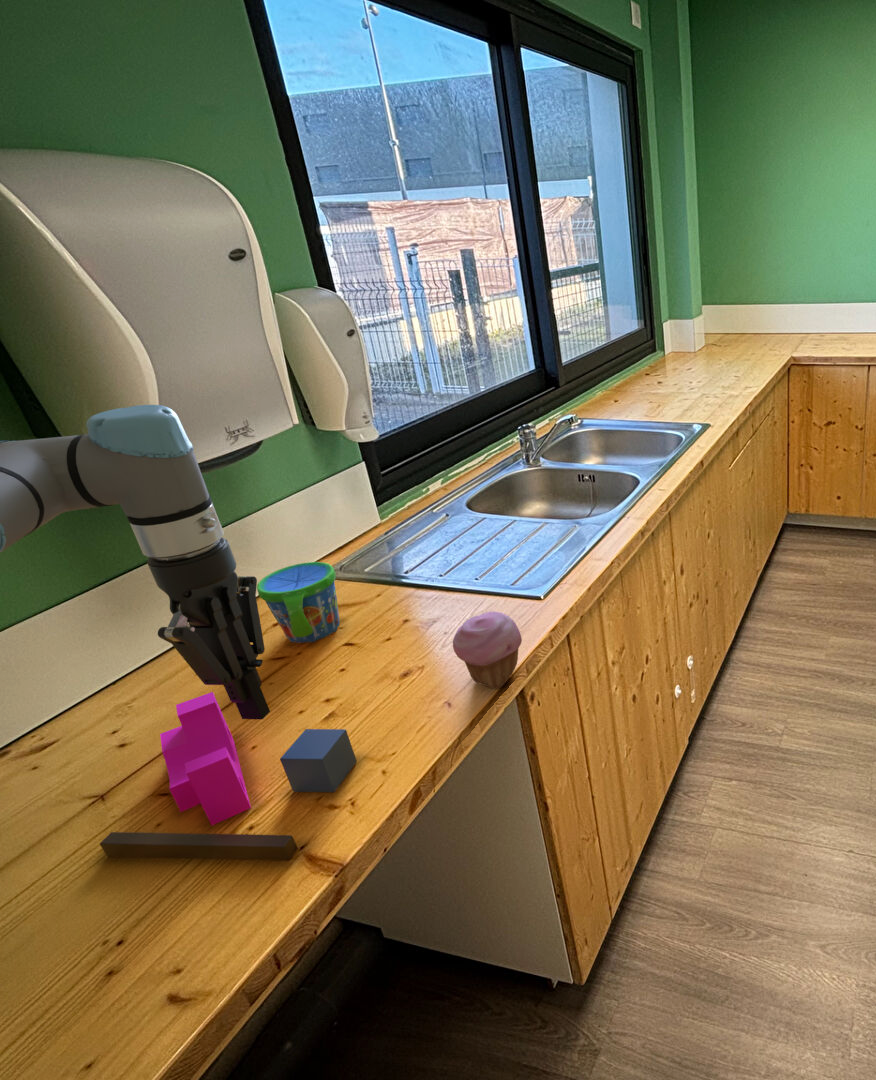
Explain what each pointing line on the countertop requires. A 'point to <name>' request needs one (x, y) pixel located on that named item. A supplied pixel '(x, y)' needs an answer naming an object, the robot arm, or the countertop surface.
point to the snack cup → (302, 600)
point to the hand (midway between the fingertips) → (256, 715)
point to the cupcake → (488, 647)
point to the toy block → (204, 761)
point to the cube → (318, 760)
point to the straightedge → (199, 846)
